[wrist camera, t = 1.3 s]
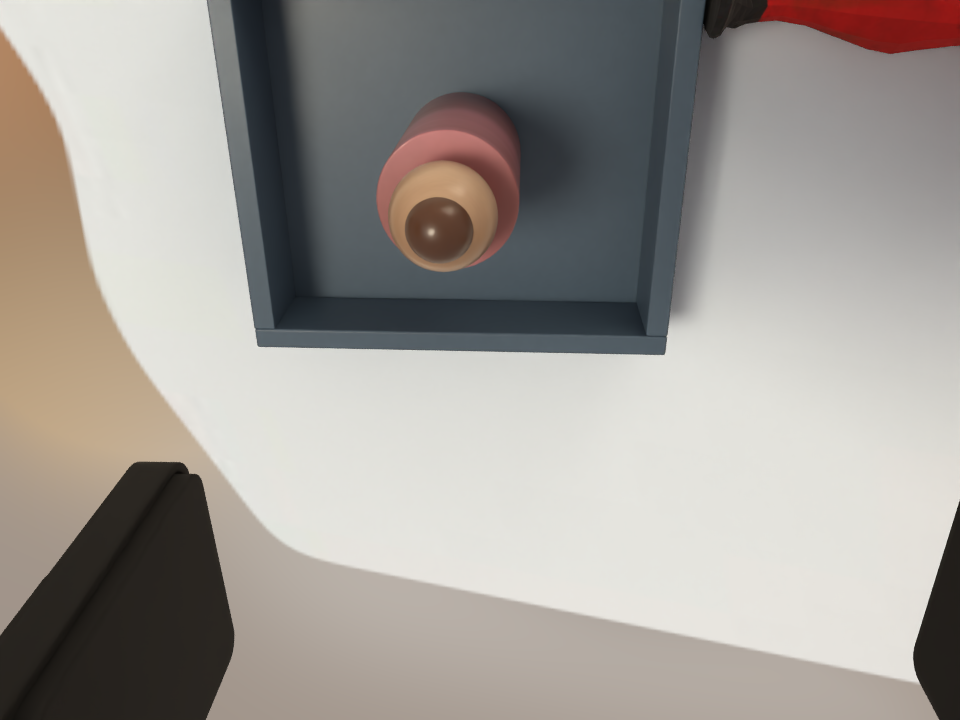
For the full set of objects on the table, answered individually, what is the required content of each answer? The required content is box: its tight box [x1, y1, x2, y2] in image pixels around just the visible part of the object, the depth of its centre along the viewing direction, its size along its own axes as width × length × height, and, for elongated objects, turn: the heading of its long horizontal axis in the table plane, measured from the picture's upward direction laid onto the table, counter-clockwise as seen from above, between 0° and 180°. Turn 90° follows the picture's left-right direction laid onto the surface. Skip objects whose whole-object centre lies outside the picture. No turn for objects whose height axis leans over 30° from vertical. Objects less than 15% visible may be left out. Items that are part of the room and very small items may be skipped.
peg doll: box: [376, 92, 521, 272], centre depth 26 cm, size 4×4×10 cm
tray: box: [207, 0, 706, 355], centre depth 29 cm, size 14×16×4 cm
